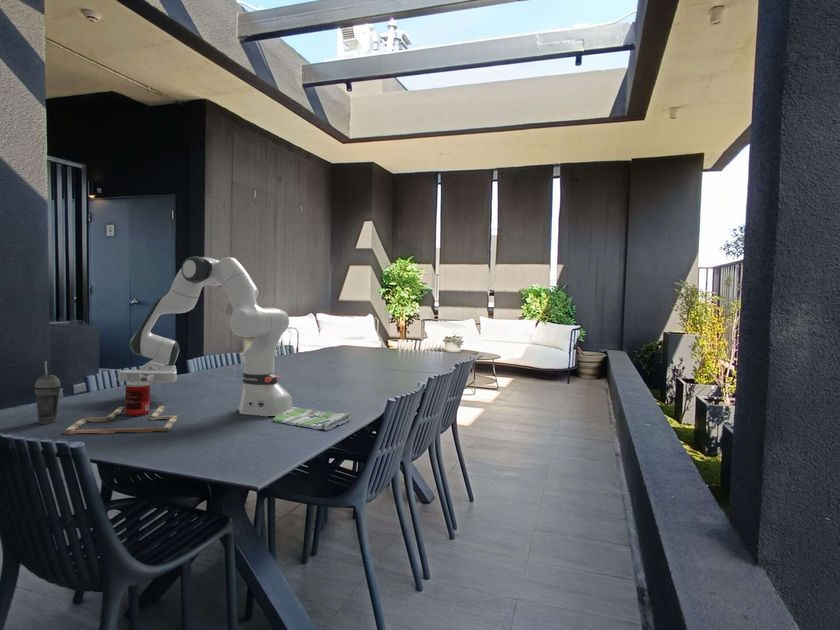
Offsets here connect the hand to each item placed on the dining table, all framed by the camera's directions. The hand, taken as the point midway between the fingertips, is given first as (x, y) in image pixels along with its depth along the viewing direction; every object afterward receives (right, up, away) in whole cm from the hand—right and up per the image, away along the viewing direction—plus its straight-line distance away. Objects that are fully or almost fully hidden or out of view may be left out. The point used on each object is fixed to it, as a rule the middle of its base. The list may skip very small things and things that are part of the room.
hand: (143, 379), depth 197 cm
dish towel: (+65, -14, -10) cm, 67 cm away
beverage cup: (-18, -11, -25) cm, 33 cm away
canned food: (+3, -11, -10) cm, 15 cm away
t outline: (+5, -12, -18) cm, 22 cm away
